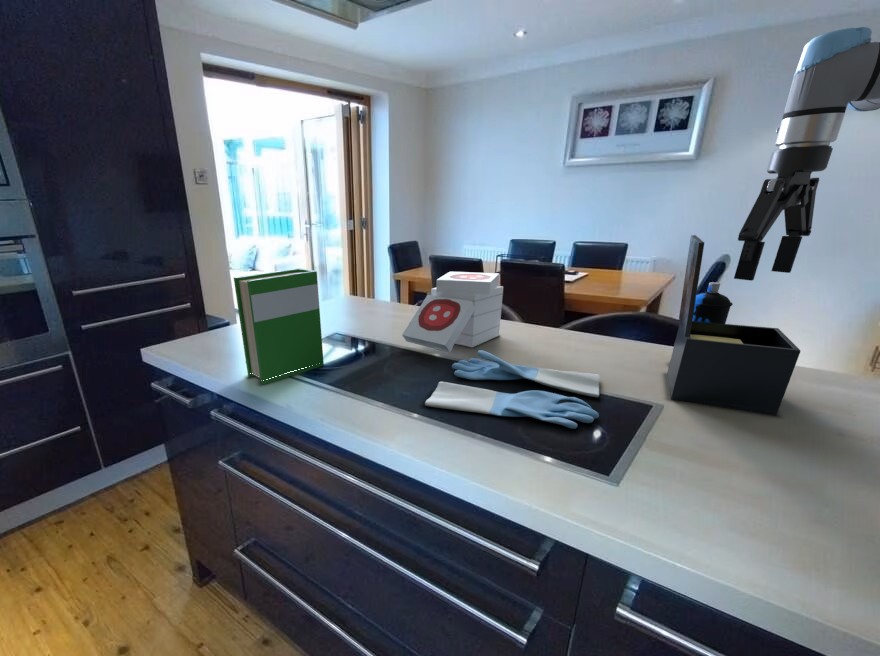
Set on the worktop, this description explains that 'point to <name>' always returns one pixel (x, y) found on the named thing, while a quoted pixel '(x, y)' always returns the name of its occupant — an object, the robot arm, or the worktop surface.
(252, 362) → the hardback book
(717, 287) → the aerosol can
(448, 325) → the pizza boxes
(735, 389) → the bin
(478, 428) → the worktop surface
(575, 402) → the rubber gloves
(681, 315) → the bin lid
